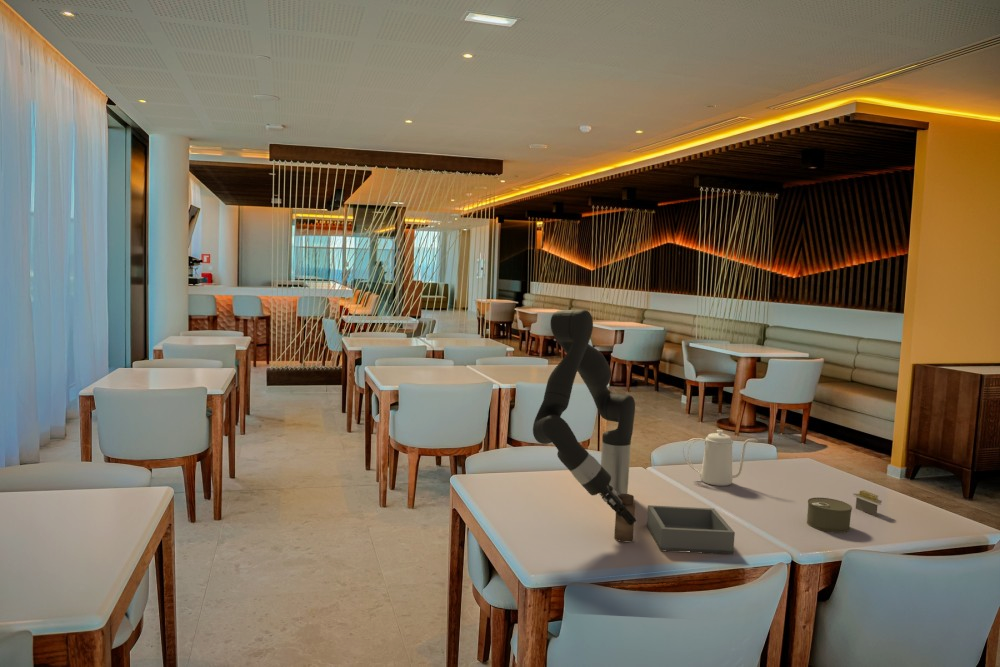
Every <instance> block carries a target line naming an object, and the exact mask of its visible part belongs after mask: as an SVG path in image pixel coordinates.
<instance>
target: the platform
mask: <svg viewBox="0 0 1000 667" xmlns="http://www.w3.org/2000/svg"><path fill="white" fill-rule="evenodd" d="M851 496H852V497H855V498H856V500H855V509H856V510H859V511H861V512H863V513H866V514H868V515H870V516H873V517H878V516H877V514H878V506H881V505H882V503H883V502H882V500H881V499H879V495H878V494H875V493H872V492H869V491H866V490H859V493H852V495H851Z"/></svg>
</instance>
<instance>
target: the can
mask: <svg viewBox="0 0 1000 667" xmlns="http://www.w3.org/2000/svg"><path fill="white" fill-rule="evenodd" d="M852 510H853V507H852V505H851V504H849V503H847V502H845V501H841V500H838V499H834V498H829V497H811V498H809V499H807V515H806V516H807V518H806V524H807V525H808V526H809V527H811V528H813V529H815V530H818V531H821V532H825V533H831V532H833V533H832V534H845V533H847V531H848V532H849V531H850V525H851V515H852ZM844 532H845V533H844Z"/></svg>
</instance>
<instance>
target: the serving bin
mask: <svg viewBox="0 0 1000 667" xmlns="http://www.w3.org/2000/svg"><path fill="white" fill-rule="evenodd" d="M646 515H647V516H646V527H647V529H648V531H649V533H650V535H651V536H652V539H653V540H654V542H655V543H657V544H656V546H657V545H658V546H657V548H658V549H659V551H660V550H666V551H665V552H669V551H690V552H702V553H701V554H710V553H713V555H715V554H716V555H730V554H733V555H734V544H735V533H736V532H735V531H734V529H733V528H732V527H731V526H730V525H729V524H728V522H726V521H725V519H724V518H723V517H722V516H721V515H720V514H719V512H717V510H716V509H715V508H711V507H710V508H709V507H691V506H690V507H689V506H669V505H650V504H649V505H647V513H646ZM690 552H689V553H690Z"/></svg>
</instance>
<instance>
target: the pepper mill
mask: <svg viewBox="0 0 1000 667" xmlns="http://www.w3.org/2000/svg"><path fill="white" fill-rule="evenodd" d="M619 497H620V499H621V500H622V501H623V503H622V504H623V505H624V506H625V507H626V508H627V510H628V511H629V512H630V513H631V514H632V515H633V516H634V517H635V514H636V513H635V512H636V503H635V502H634V499H635V498H634V497H635V496H634V495H633V494H630V493H627V494H619ZM622 509H623V508H622V507H620V508H619V509H618V510H619V511H620V510H622ZM634 526H635V523H633V524H632V525H629V523H628V522H627V521H626V520H625V519H624V518H623V517H622V516H621V517H620V516H619V515H618V514H617V513H616V512H615V520H614V537H613V538H615V539H617V540H620V541H631V542H633V541H634V540H633V539H634V530H635V528H634ZM615 539H614V540H615ZM617 540H616V541H617ZM632 540H633V541H632ZM620 541H619V542H620Z"/></svg>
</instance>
